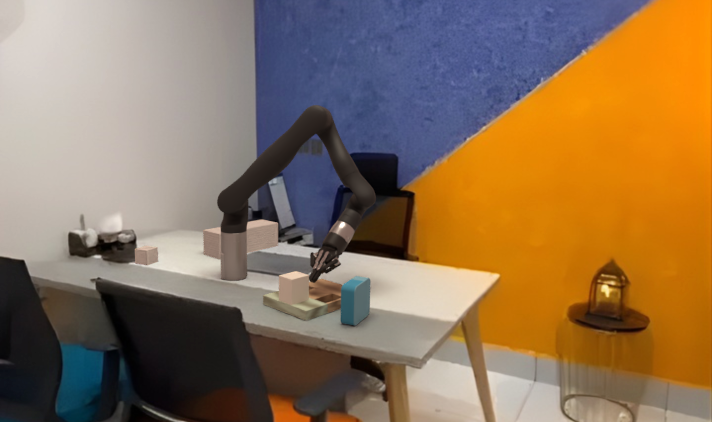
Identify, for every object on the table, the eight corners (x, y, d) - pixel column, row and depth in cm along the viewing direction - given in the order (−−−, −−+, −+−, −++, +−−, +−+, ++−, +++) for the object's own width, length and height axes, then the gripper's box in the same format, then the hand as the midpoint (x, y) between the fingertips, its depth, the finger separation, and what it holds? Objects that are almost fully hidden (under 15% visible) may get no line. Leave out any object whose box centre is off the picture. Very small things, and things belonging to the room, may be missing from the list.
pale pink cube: (158, 261, 233) (157, 247, 232) (147, 265, 227) (146, 250, 226) (146, 260, 235) (145, 245, 234) (135, 263, 230) (134, 248, 229)
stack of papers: (262, 242, 269) (262, 219, 267) (278, 246, 263) (278, 222, 261) (203, 255, 245) (203, 229, 243) (219, 259, 238) (219, 234, 236)
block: (295, 295, 187) (295, 271, 186) (308, 299, 183) (308, 275, 182) (278, 300, 182) (278, 275, 181) (291, 305, 178) (291, 279, 177)
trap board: (321, 286, 206) (322, 278, 205) (364, 300, 193) (364, 291, 192) (263, 304, 187) (263, 295, 187) (305, 320, 174) (305, 311, 173)
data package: (356, 311, 182) (357, 274, 180) (369, 314, 181) (370, 276, 178) (340, 324, 171) (340, 285, 169) (354, 327, 170) (355, 287, 168)
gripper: (319, 228, 196) (291, 270, 189) (347, 234, 187) (319, 279, 180) (330, 241, 201) (303, 283, 194) (358, 247, 192) (331, 292, 185)
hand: (311, 281), depth 187 cm, fingers closed
